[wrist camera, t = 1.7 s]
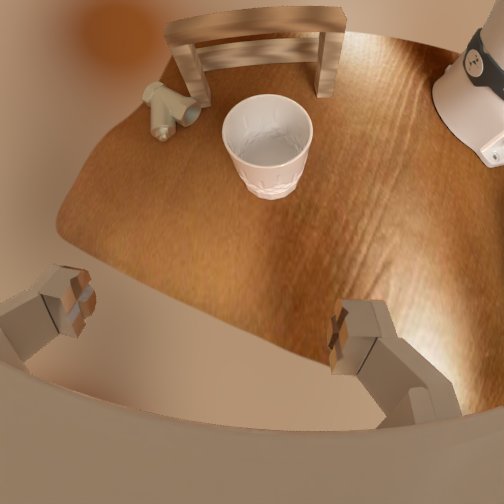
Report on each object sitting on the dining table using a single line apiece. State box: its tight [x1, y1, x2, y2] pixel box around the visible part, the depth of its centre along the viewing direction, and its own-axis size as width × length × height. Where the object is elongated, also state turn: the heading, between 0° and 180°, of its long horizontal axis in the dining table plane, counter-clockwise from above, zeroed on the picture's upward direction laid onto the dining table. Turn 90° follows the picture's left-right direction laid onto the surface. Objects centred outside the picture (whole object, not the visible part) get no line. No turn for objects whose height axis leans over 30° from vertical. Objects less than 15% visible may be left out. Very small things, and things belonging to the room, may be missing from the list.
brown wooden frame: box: [164, 6, 347, 108], centre depth 30 cm, size 18×8×14 cm, turn 93°
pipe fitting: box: [142, 81, 202, 142], centre depth 36 cm, size 8×4×7 cm
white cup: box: [222, 94, 313, 200], centre depth 30 cm, size 8×8×10 cm
